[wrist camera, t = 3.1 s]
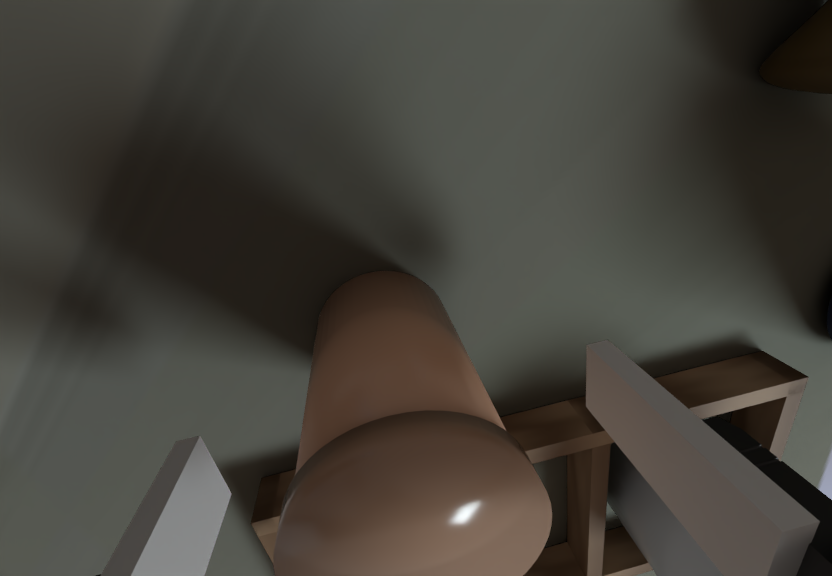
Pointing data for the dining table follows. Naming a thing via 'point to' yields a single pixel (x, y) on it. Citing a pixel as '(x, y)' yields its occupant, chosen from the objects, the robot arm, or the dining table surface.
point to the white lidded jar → (653, 523)
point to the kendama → (804, 56)
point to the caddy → (590, 455)
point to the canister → (829, 319)
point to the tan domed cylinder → (404, 450)
